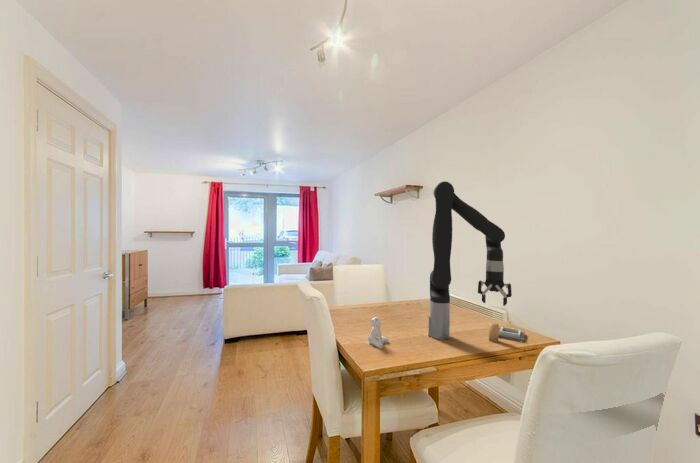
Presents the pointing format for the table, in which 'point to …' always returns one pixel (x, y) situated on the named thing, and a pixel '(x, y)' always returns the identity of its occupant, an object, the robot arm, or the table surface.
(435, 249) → the robot arm
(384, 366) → the table surface
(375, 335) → the white creature statuette
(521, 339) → the housing
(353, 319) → the table surface
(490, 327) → the brown peg
